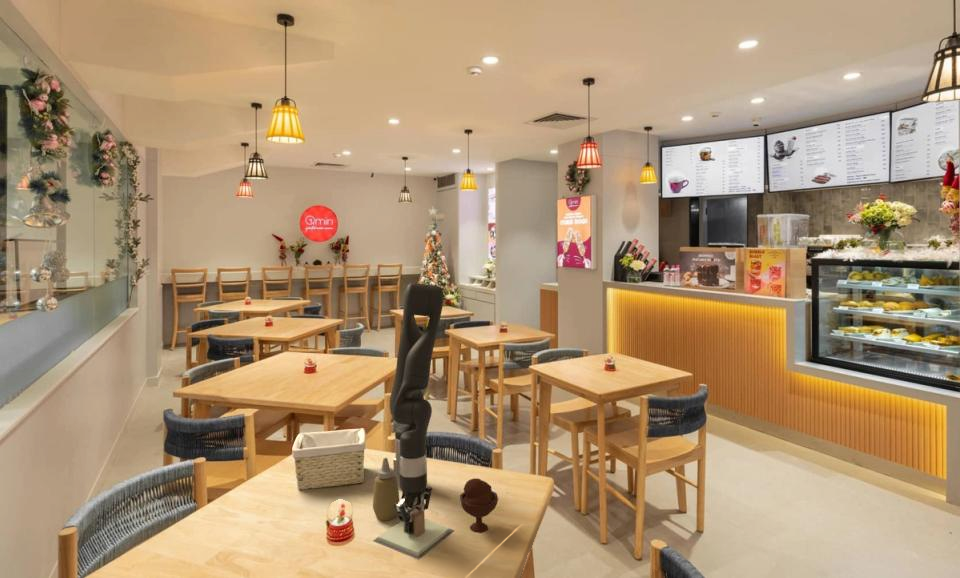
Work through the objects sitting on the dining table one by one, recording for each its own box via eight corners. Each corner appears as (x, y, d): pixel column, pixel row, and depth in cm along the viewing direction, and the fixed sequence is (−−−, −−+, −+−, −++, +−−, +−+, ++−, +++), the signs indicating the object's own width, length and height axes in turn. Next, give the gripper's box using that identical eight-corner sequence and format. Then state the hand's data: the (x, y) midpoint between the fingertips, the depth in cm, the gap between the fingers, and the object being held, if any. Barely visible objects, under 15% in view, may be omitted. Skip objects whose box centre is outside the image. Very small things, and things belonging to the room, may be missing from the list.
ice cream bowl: (495, 541, 142) (494, 488, 141) (455, 537, 144) (454, 484, 143) (501, 521, 152) (501, 471, 151) (464, 517, 154) (463, 468, 153)
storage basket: (292, 493, 171) (290, 449, 170) (298, 472, 187) (297, 432, 185) (366, 485, 176) (365, 443, 175) (366, 465, 192) (365, 426, 191)
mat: (372, 542, 142) (372, 540, 142) (410, 516, 155) (410, 515, 155) (418, 560, 133) (418, 559, 133) (454, 532, 147) (454, 530, 146)
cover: (378, 540, 142) (377, 515, 141) (411, 517, 154) (410, 494, 153) (417, 556, 134) (417, 530, 134) (449, 531, 146) (449, 507, 146)
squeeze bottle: (405, 512, 157) (404, 455, 156) (392, 526, 150) (390, 465, 148) (381, 508, 160) (380, 451, 159) (367, 521, 152) (366, 462, 151)
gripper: (419, 458, 151) (419, 515, 152) (385, 476, 139) (386, 538, 140) (439, 463, 146) (440, 522, 148) (406, 483, 135) (408, 546, 136)
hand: (414, 529), depth 144 cm, fingers open, 3 cm apart
